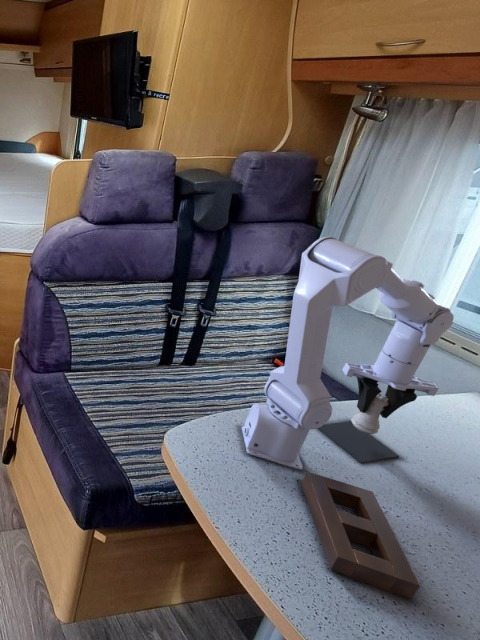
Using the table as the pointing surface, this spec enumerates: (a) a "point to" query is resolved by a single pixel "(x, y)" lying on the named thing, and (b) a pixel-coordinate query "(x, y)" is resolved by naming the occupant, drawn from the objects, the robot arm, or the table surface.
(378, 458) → the pad
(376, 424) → the rook chess piece
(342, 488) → the frame
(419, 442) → the table surface
